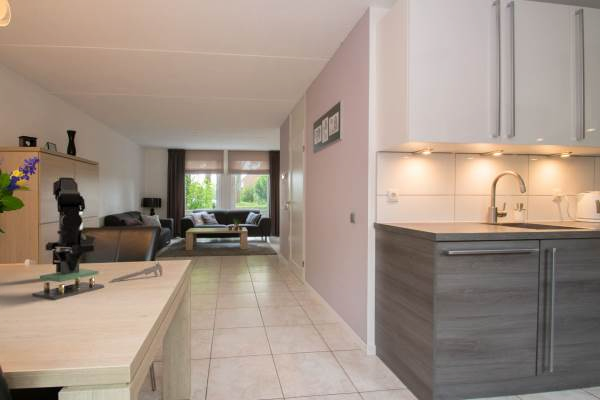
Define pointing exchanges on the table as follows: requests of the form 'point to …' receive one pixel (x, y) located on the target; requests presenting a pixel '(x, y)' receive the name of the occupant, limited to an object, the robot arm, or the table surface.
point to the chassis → (67, 289)
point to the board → (69, 277)
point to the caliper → (145, 271)
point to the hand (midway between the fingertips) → (69, 270)
